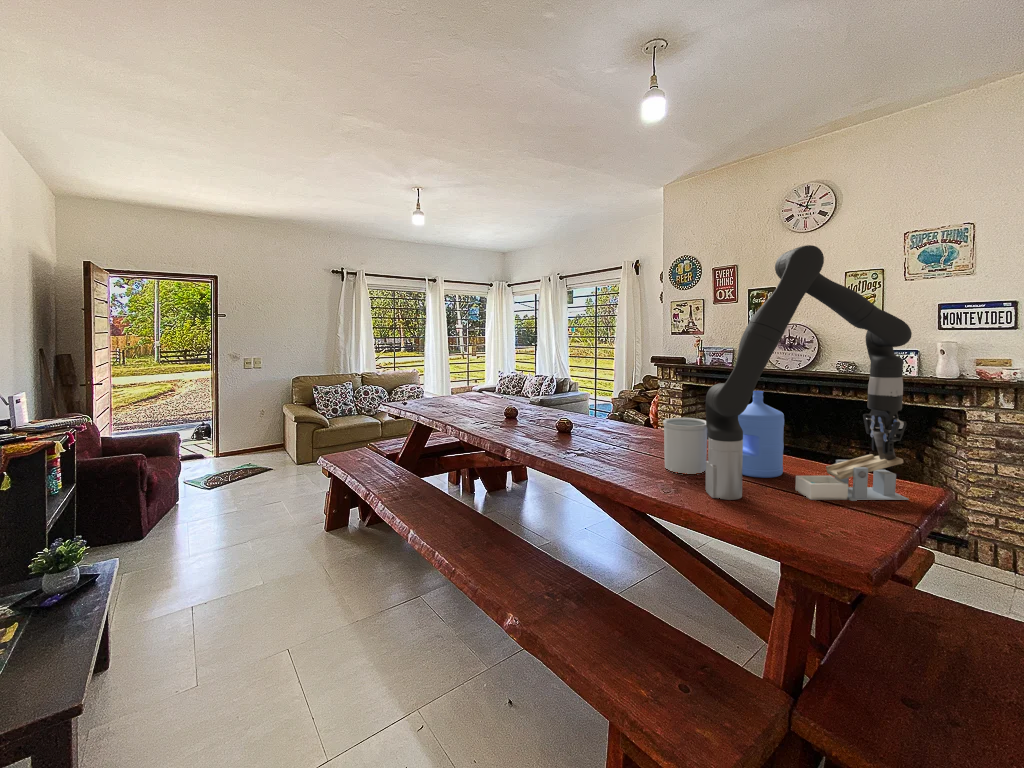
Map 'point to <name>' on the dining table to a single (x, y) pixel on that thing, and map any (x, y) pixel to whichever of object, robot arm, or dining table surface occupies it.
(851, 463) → the lever
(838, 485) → the gray open tray
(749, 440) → the water jug
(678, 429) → the utensil holder
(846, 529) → the dining table surface
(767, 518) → the dining table surface
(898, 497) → the stand
